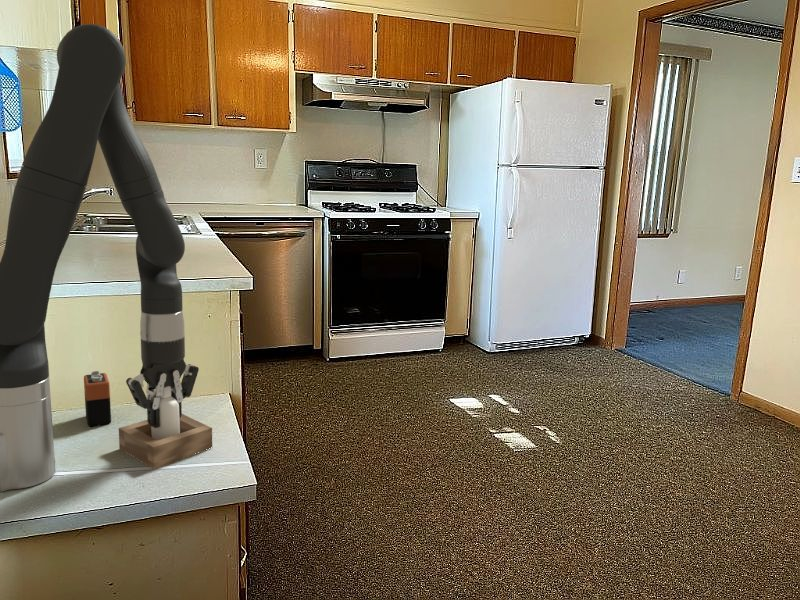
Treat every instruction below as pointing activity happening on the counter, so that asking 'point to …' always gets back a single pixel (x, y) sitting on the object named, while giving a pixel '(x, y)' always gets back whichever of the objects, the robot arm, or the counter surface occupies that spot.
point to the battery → (97, 399)
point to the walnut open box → (165, 442)
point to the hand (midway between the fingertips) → (165, 422)
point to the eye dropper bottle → (167, 416)
